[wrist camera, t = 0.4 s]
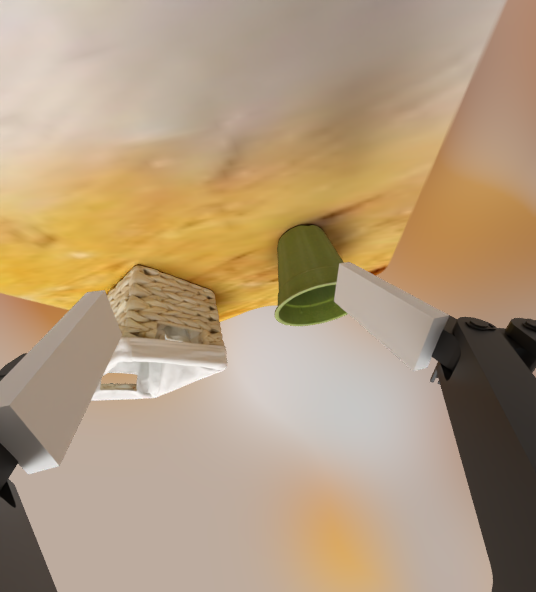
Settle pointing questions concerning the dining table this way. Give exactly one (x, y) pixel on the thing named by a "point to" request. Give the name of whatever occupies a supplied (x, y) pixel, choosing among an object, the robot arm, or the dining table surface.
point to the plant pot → (307, 277)
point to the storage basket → (162, 335)
